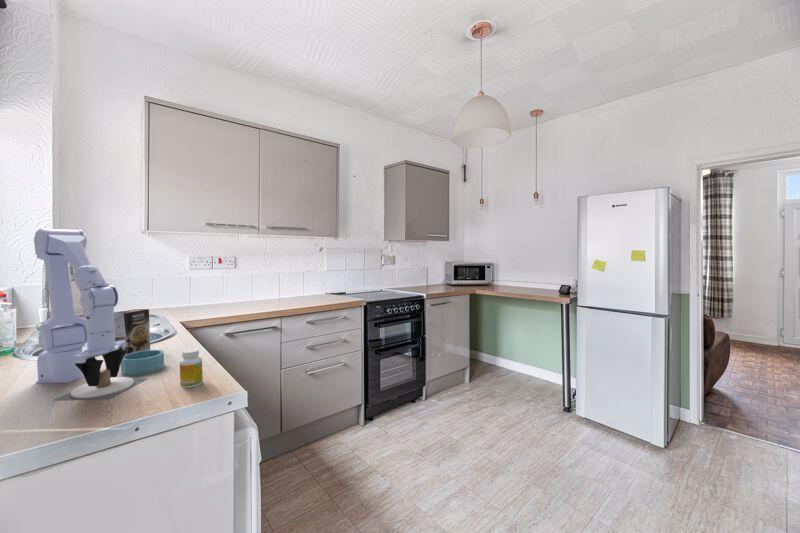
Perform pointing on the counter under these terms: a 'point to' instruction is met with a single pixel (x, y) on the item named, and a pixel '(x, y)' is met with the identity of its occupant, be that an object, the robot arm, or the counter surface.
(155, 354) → the bowl
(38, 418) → the counter surface
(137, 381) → the mat
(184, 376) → the supplement bottle
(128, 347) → the coffee box
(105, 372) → the lid
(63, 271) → the robot arm
